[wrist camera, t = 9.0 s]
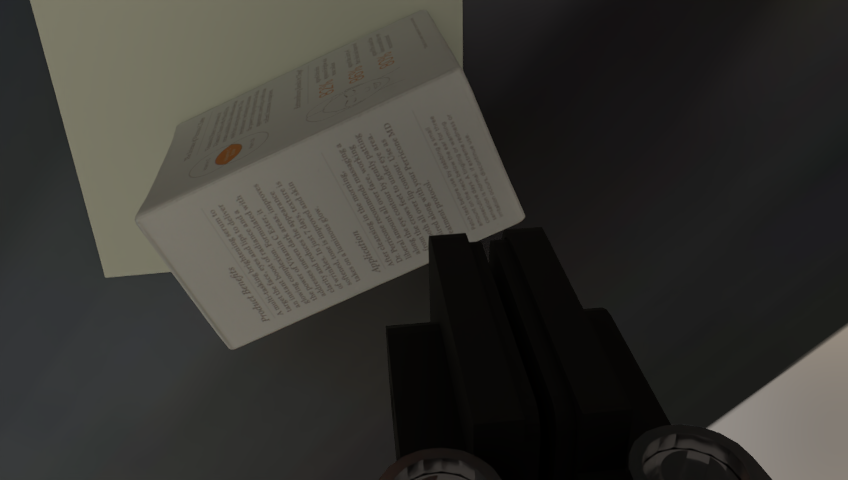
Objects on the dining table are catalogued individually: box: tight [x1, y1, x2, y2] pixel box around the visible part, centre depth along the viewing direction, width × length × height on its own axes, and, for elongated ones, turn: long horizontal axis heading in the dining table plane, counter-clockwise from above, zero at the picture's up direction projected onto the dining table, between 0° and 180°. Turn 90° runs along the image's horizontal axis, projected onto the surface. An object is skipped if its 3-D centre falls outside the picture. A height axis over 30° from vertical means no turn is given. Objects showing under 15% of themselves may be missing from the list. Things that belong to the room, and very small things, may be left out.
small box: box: [135, 10, 525, 350], centre depth 26 cm, size 8×6×10 cm
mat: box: [30, 0, 463, 278], centre depth 28 cm, size 15×18×1 cm
